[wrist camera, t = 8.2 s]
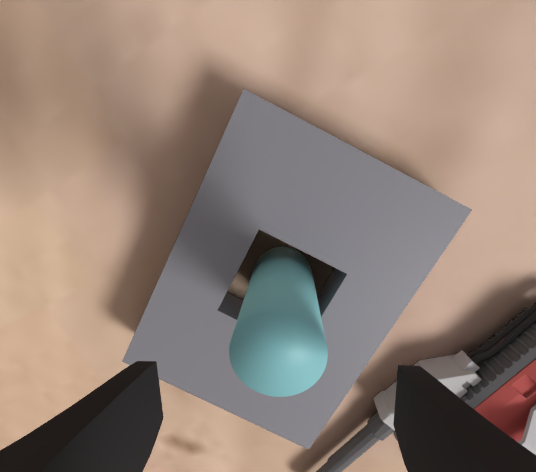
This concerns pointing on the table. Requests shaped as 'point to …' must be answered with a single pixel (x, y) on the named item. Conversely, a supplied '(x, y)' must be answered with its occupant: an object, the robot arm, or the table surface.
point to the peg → (279, 327)
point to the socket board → (303, 238)
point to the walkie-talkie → (470, 389)
